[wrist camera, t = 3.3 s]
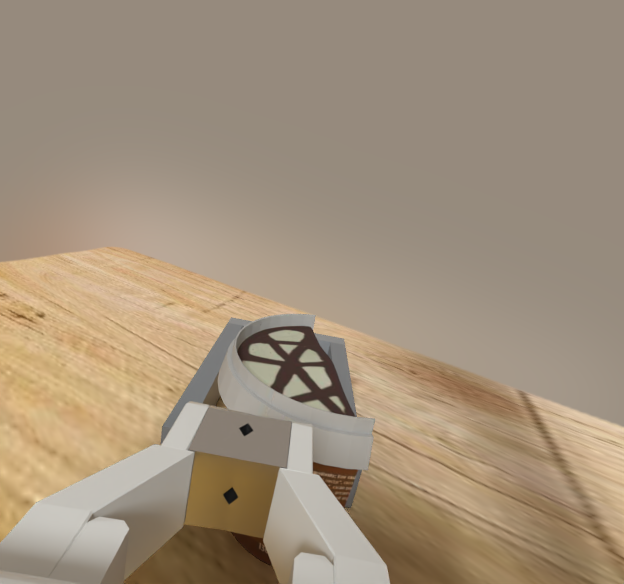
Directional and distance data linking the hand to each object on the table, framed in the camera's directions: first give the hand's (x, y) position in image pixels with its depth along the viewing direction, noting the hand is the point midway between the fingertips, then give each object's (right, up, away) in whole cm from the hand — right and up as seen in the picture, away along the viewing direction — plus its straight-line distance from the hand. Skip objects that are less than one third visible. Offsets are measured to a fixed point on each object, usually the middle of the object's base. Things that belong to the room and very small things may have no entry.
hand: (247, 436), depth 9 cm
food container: (-2, -9, +14) cm, 16 cm away
